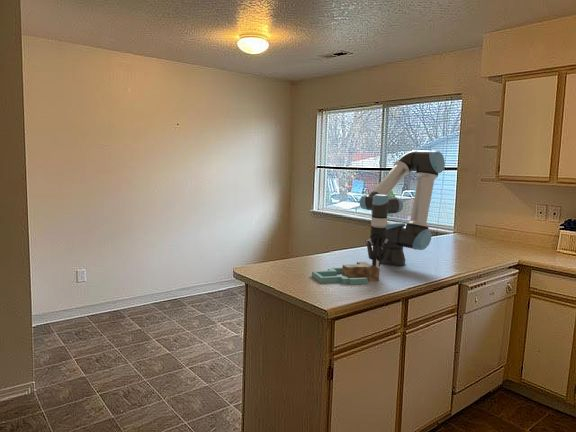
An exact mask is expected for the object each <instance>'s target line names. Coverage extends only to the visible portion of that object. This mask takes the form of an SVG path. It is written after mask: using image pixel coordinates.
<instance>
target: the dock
mask: <svg viewBox="0 0 576 432" xmlns="http://www.w3.org/2000/svg"><path fill="white" fill-rule="evenodd" d="M342 267H343V266H341V267H331V268H327V270H312V271H311V277H312V278H313V279H314V280H316V281H317V282H319V283H320V284H326V283H330V284H331V283H341V284H343V285H347V284H348V285H366V284H368V282H369V281H368V278H348V277H346V276H342V275H338V274H342Z"/></svg>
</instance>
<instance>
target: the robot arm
mask: <svg viewBox="0 0 576 432" xmlns="http://www.w3.org/2000/svg"><path fill="white" fill-rule="evenodd" d="M445 163H446V162H445V158H444V155H443V154H442V152H441V151H438V150H417V149H415V150H411V151H408V152H406V153H404V154H403V155H401V156H400V157H399V158H398V159H397V160H395V162H394V163H393V167H392V168H391V169H390V170H389V172H388V173H387V174H386V175H385V176H384V177H383V178H382V180H380V182H379V183H378V184H377V185H376V186H375V188H373V190H372V191H371V192H370V193H369V194H368V195H367V194H366V195H364V194H363V195H362V196H361V197H360V198H359V206H360V208H361V209H362V210H365V211H371V221H370V225H371V226H370V237H369V238H368V239H365V240H364V241H365V244H366V247H367V255H368V259H370V260H372V261H371V262H372V263H371V265H373V266H375V267H377V268H380V267H381V264H382V265H386V266H404V265H406V258H405V253H404V248H407V249H411V250H412V249H413V250H416V251H417V250H418V251H424V250H425V249H426V248H428V246H430V243H431V242H432V241H431V240H432V237H433V236H432V231H431V230H430V229H429V224H428V223H427V221H428V216H429V212H430V211H429V210H430V204H431V201H432V194H433V190H434V188H433V187H434V184H435V180H436V179H437V178H439V174H441V173H442V172H443V171H444V170H445ZM412 172H415V175H416V176H417V182H416V187H415V191H414V192H415V193H414V198H413V204H412V209H411V215H410V219H409V221H407V222H406V223H405V222H388V214H397V213H400V212H401V211H402V210H403V208H404V203H403V200H402V199H401V198H398V197H393V198H392V197H390V196H389V194H390V193H391V192H392V190H393V189H395V187H396V186H397V185H398V183H400V181H401V180H402V179H403V178H404V177H405V176H407V175H409V173H412Z"/></svg>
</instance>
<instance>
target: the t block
mask: <svg viewBox="0 0 576 432" xmlns="http://www.w3.org/2000/svg"><path fill="white" fill-rule="evenodd" d="M341 267H342V273H341V276H346V277H348V278H368V282H378V281H380V269H381V268H380V267H379V268H377V267H375V266H373V265H372V263H370V262H367V261H356V263H354V264H352V263H351V264H342V266H341Z"/></svg>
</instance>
